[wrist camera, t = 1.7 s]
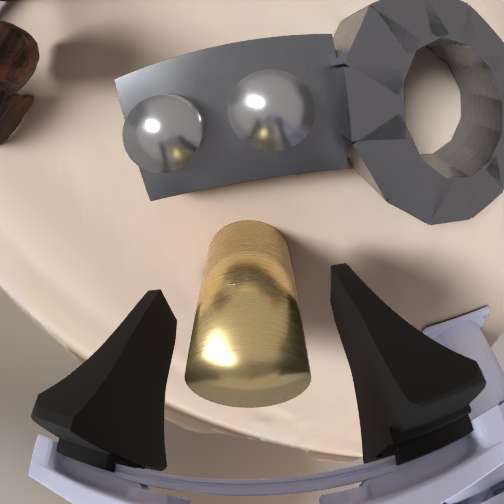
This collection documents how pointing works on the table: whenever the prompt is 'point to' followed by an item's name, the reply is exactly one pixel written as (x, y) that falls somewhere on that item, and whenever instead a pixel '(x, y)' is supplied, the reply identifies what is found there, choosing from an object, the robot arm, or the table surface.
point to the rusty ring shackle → (15, 75)
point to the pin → (248, 322)
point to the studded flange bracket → (325, 110)
